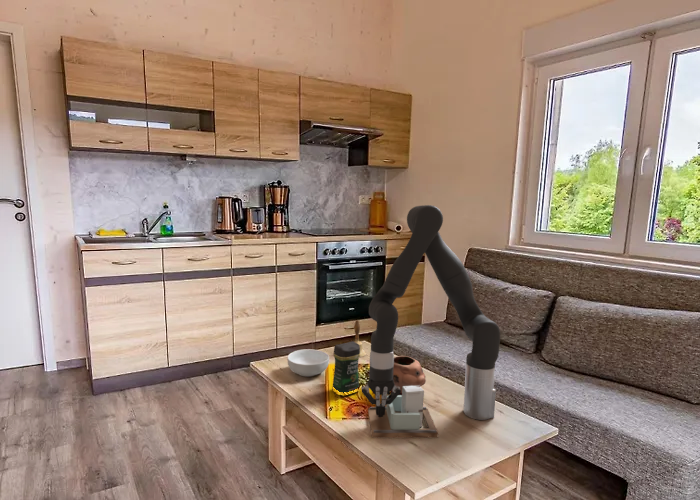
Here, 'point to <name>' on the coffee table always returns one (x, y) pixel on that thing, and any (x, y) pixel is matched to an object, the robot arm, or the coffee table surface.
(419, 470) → the coffee table surface
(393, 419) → the bracket
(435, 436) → the board
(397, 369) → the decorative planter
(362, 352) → the hand bell
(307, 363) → the cereal bowl
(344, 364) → the coffee jar
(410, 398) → the skincare box
